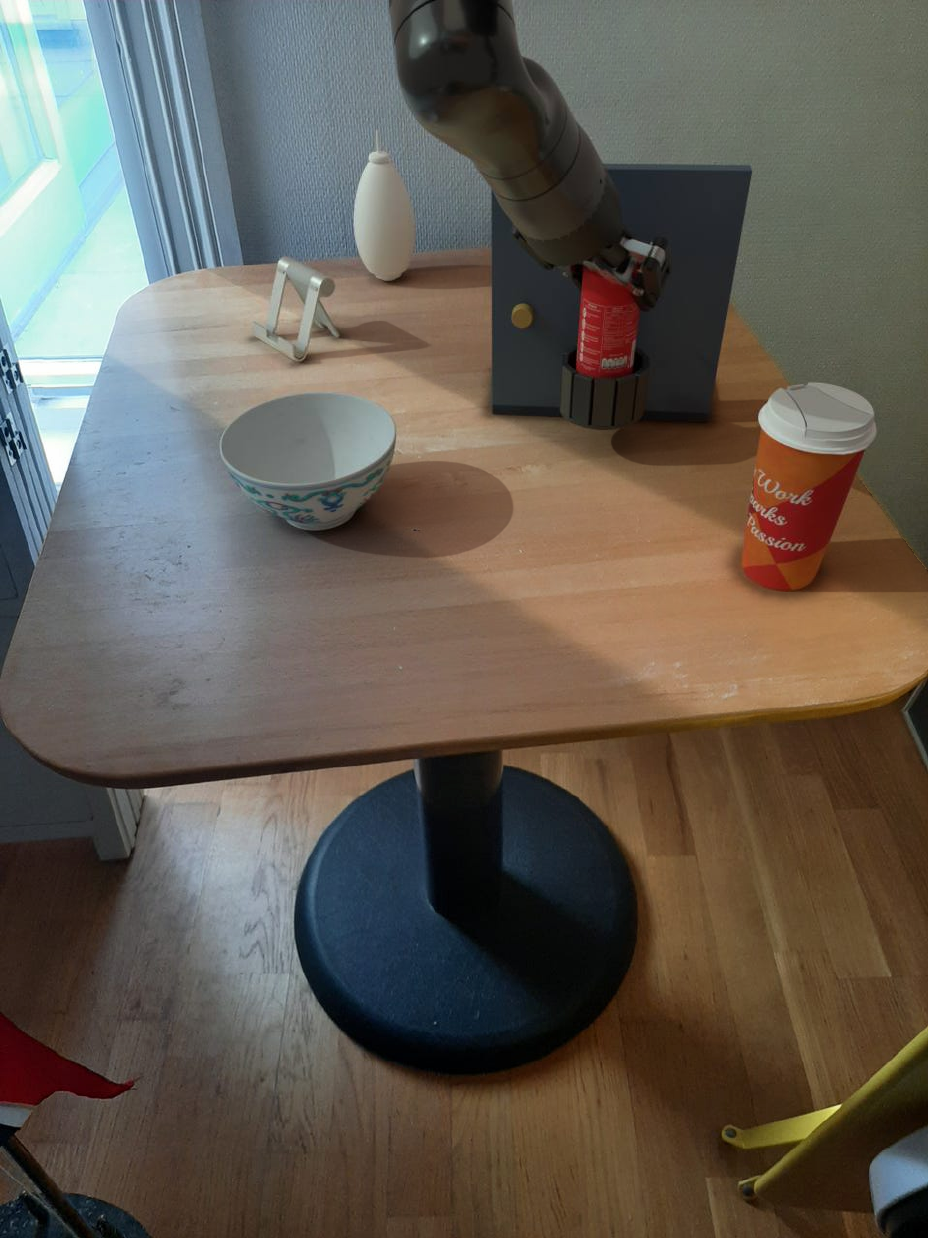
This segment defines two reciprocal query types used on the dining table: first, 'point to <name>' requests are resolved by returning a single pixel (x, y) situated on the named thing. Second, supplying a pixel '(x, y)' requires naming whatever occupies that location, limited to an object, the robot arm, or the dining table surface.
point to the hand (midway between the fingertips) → (620, 293)
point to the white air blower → (383, 218)
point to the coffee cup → (802, 480)
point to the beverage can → (606, 328)
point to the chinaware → (310, 456)
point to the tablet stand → (310, 291)
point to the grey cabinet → (666, 335)
